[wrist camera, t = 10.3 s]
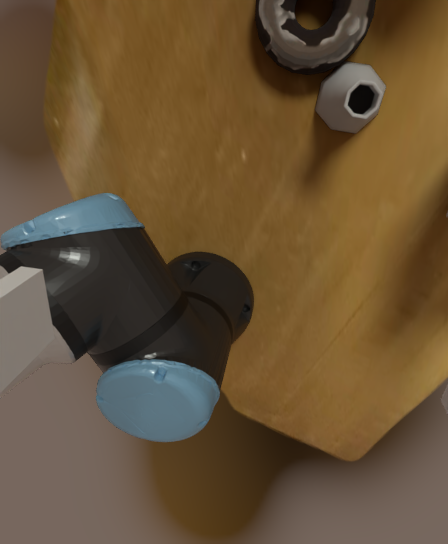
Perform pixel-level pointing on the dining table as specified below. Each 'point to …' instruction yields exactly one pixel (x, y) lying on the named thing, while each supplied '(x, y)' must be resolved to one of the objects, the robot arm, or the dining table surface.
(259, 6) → the donut
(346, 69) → the flask
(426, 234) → the dining table surface
